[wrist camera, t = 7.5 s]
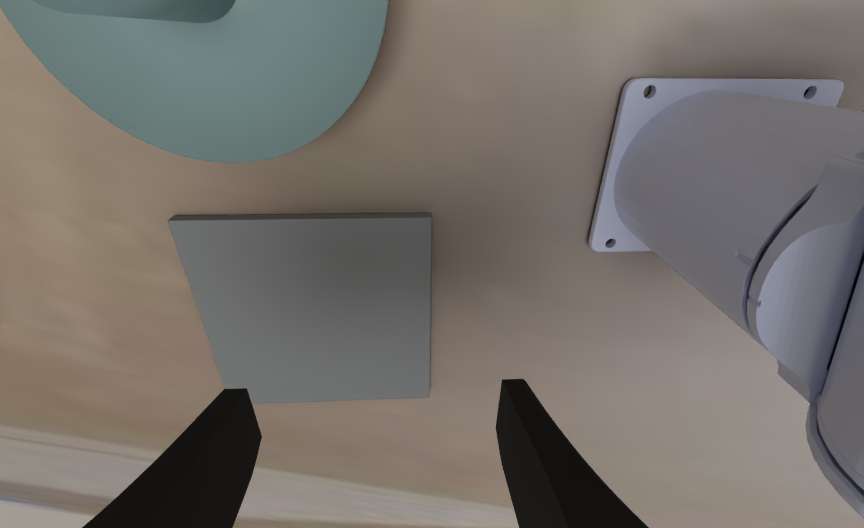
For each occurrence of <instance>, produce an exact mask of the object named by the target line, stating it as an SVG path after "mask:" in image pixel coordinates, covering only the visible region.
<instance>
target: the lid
mask: <svg viewBox="0 0 864 528" xmlns="http://www.w3.org/2000/svg"><path fill="white" fill-rule="evenodd" d="M388 6H389V0H0V7H1V9H2V11H3V12H4V14H5V16H6V17H7V19H8V20H9V21H10V23H11V24H12V26H13V27H14V28H15V30H16V31H17V33H18V34H19V35H20V37H21V38H22V39H23V41H24V42H25V44H26V45H27V46H28V47H29V48H30V50H31V51H32V52H33V53H34V54H35V55H36V57H37V58H38V59H39V60H40V61H41V62H42V64H43V65H44V66H45V67H46V68H47V69H48V70H49V71H50V72H51V73H52V74H53V75H54V76H55V77H56V78H57V79H58V80H59V81H60V82H61V83H62V84H63V85H64V86H65V87H66V88H67V89H68V90H69V91H70V92H71V93H72V94H74V95H75V96H76V97H77V98H78V99H80V100H81V101H82V102H83V103H84V104H86V105H87V106H88V107H89V108H91V109H92V110H93V111H94V112H96V113H97V114H99V115H100V116H102V117H103V118H105V119H106V120H108V121H109V122H110V123H112V124H113V125H115V126H116V127H118V128H120V129H122V130H124V131H125V132H127V133H129V134H131V135H133V136H134V137H136V138H138V139H140V140H142V141H144V142H147V143H149V144H151V145H154V146H156V147H158V148H160V149H163V150H166V151H169V152H172V153H175V154H179V155H182V156H185V157H189V158H194V159H199V160H204V161H211V162H224V163H242V162H254V161H260V160H265V159H271V158H274V157H277V156H280V155H283V154H286V153H289V152H292V151H294V150H296V149H298V148H300V147H302V146H304V145H306V144H308V143H310V142H311V141H313V140H314V139H315V138H317V137H318V136H320V135H321V134H323V133H324V132H325V131H327V130H328V129H329V128H330V127H331V126H332V125H333V124H334V123H335V122H336V121H337V120H338V119H339V118H340V117H341V116H342V115H343V114H344V113H345V112H346V110H347V109H348V108H349V107H350V105H351V104H352V103H353V101H354V100H355V99H356V98H357V96H358V95H359V93H360V92H361V90H362V88H363V86H364V85H365V83H366V81H367V80H368V78H369V76H370V74H371V71H372V69H373V66H374V64H375V62H376V59H377V57H378V54H379V50H380V47H381V43H382V39H383V36H384V32H385V26H386V19H387V13H388Z"/></svg>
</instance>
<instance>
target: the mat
mask: <svg viewBox="0 0 864 528" xmlns="http://www.w3.org/2000/svg"><path fill="white" fill-rule="evenodd" d="M168 224H169V227H170V229H171V232H172V235H173V238H174V241H175V244H176V247H177V250H178V253H179V256H180V259H181V261H182V264H183V267H184V270H185V273H186V276H187V279H188V282H189V285H190V288H191V291H192V294H193V296H194V299H195V302H196V305H197V308H198V311H199V314H200V317H201V320H202V323H203V326H204V329H205V331H206V334H207V337H208V340H209V343H210V346H211V349H212V352H213V355H214V358H215V361H216V364H217V366H218V369H219V372H220V375H221V378H222V381H223V384H224V387H225V389H240V388H247V390H248V393H249V396H250V400H251V403H252V404H265V403H293V402H321V401H349V400H377V399H405V398H430V306H431V213H368V214H277V215H185V216H173V217H172V218H170V219H169V220H168Z"/></svg>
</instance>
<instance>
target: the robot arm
mask: <svg viewBox="0 0 864 528" xmlns="http://www.w3.org/2000/svg"><path fill="white" fill-rule="evenodd" d="M649 85H650V86H651V92H650V94H649V95H648V96H647V97H644V90H645V88H646V87H647V86H649ZM807 88H809V89H808V92H807V94H806V95H805V96H804V92H805V91H806V89H807ZM843 90H844V83H843V82H842V81H840V80H834V79H738V78H634V79H631V80H630V81H628V82H627V83H626V85H625V86H624V88H623V91H622V95H621V99H620V104H619V108H618V112H617V117H616V121H615V126H614V130H613V134H612V139H611V143H610V148H609V152H608V156H607V161H606V165H605V170H604V174H603V178H602V183H601V187H600V192H599V196H598V200H597V205H596V209H595V214H594V218H593V222H592V227H591V231H590V236H589V240H588V244H589V246H590V248H591V249H592V250H594V251H596V252H624V251H653V252H654V253H655V254H656V255H658V256H659V257H660V258H661V259H662V260H663V261H665V262H666V263H667V264H668V265H669V266H670V267H671V268H673V269H674V270H675V271H676V272H677V273H678V274H680V275H681V276H682V277H683V278H684V279H685V280H686V281H688V282H689V283H690V284H691V285H692V286H693V287H695V288H696V289H697V290H698V291H699V292H700V293H702V294H703V295H704V296H705V297H706V298H707V299H708V300H710V301H711V302H712V303H713V304H714V305H715V306H717V307H718V308H719V309H720V310H721V311H722V312H723V313H725V314H726V315H727V316H728V317H729V318H730V319H732V320H733V321H734V322H735V323H736V324H737V325H739V326H740V327H741V328H742V329H743V330H744V331H745V332H747V333H748V334H749V335H750V336H751V337H752V338H754V339H755V340H756V341H757V342H758V343H759V344H761V345H762V346H763V347H764V348H765V349H766V350H767V351H769V352H770V353H771V354H772V355H773V356H774V357H775V358H776V359H777V362H778V375H780V376H781V377H782V378H783V379H784V380H785V381H786V382H787V383H788V384H790V385H791V386H792V387H793V388H794V389H795V390H796V391H797V392H798V393H799V394H801V395H802V396H803V397H804V398H805V399H806V400H807V401H808V402H809V403H810V406H809V409H808V413H807V419H806V433H807V440H808V444H809V446H810V449H811V452H812V454H813V457H814V459H815V461H816V462H817V464H818V466H819V468H820V469H821V471H822V473H823V474H824V476H825V477H826V478H827V480H828V481H829V482H830V483H831V485H832V486H833V487H834V489H835V490H836V491H837V492H838V494H839V495H840V496H841V497H842V498H843V499H844V500H845V501H846V502H847V503H848V504H849V505H850V506H851V507H852V508H853V509H854V510H855V511H856V512H857V513H858V514H859V515H860V516H862V517H863V518H864V111H859V110H852V109H846V108H840V107H836V106H837V104H838V101H839V99H840V97H841V95H842V93H843ZM609 239H612V241H611V243H609V244H606V245H605V243H606V241H607V240H609ZM496 432H497V438H498V444H499V450H500V456H501V462H502V466H503V470H504V474H505V477H506V481H507V485H508V488H509V492H510V496H511V499H512V503H513V506H514V510H515V514H516V517H517V521H518V524H519V528H649V527H647V526H646V525H645V524H644V523H643V522H642V521H641V520H640V519H639V518H638V517H637V516H636V515H635V514H634V513H633V512H632V511H631V510H630V509H629V508H628V507H627V506H626V505H625V504H624V503H623V502H622V501H621V500H620V499H619V498H618V497H617V496H616V495H615V494H614V492H613V491H612V490H611V489H610V488H609V487H608V486H607V485H606V484H605V483H604V482H603V481H602V479H601V478H600V477H599V476H598V475H597V474H596V473H595V472H594V470H593V469H592V468H591V467H590V466H589V465H588V463H587V462H586V461H585V460H584V459H583V458H582V456H581V455H580V454H579V453H578V452H577V450H576V449H575V448H574V447H573V445H572V444H571V443H570V442H569V440H568V439H567V438H566V437H565V435H564V434H563V433H562V431H561V430H560V429H559V428H558V426H557V425H556V424H555V422H554V421H553V420H552V418H551V417H550V416H549V414H548V413H547V411H546V410H545V409H544V407H543V406H542V404H541V403H540V402H539V400H538V399H537V397H536V396H535V394H534V393H533V391H532V390H531V388H530V387H529V385H528V384H527V382H526V381H525V380H524V379H508V380H502V385H501V392H500V400H499V407H498V415H497V422H496ZM261 438H262V436H261V432H260V429H259V426H258V423H257V419H256V416H255V413H254V410H253V406H252V403H251V400H250V396H249V393H248V390H247V388H240V389H224V390H223V391H222V392H221V393H220V394H219V395H218V396H217V397H216V398H215V399H214V400H213V401H212V403H211V404H210V405H209V406H208V407H207V408H206V409H205V410H204V411H203V412H202V413H201V414H200V415H199V416H198V417H197V418H196V419H195V421H194V422H193V423H192V424H191V425H190V426H189V427H188V428H187V429H186V430H185V431H184V432H183V433H182V434H181V435H180V436H179V437H178V438H177V439H176V440H175V441H174V442H173V443H172V444H171V445H170V446H169V447H168V448H167V449H166V450H165V451H164V452H163V453H162V455H161V456H160V457H159V458H158V459H157V460H156V461H155V462H154V463H153V464H152V465H150V466H149V467H148V468H147V469H146V470H145V471H144V472H143V473H142V474H141V475H140V476H139V477H138V478H137V479H136V480H135V481H134V482H133V483H132V484H131V485H129V486H128V487H127V488H126V489H125V490H124V491H123V492H122V493H121V494H120V495H119V496H118V497H117V498H116V499H114V500H113V501H112V502H111V503H110V504H109V505H108V506H107V507H106V508H104V509H103V510H102V511H101V512H100V513H99V514H98V515H96V516H95V517H94V518H93V519H92V520H91V521H90V522H88V523H87V524H86V525H85V526H84V527H82V528H232V527H233V525H234V522H235V519H236V517H237V514H238V511H239V509H240V506H241V504H242V501H243V498H244V496H245V493H246V490H247V488H248V485H249V482H250V479H251V477H252V474H253V470H254V466H255V462H256V459H257V455H258V450H259V446H260V442H261Z"/></svg>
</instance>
